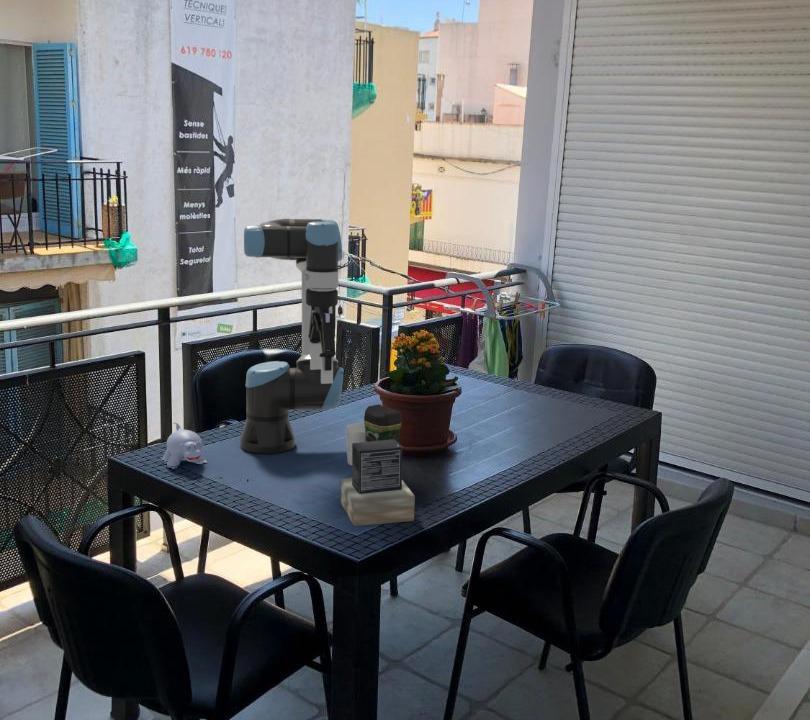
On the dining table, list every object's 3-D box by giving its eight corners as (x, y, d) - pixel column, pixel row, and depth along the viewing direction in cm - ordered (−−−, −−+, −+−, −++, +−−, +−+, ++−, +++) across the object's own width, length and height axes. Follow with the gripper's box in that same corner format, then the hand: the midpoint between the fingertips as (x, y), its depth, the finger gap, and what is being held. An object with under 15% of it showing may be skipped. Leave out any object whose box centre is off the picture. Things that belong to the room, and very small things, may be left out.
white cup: (378, 459, 251) (379, 424, 249) (369, 469, 244) (370, 433, 241) (350, 456, 253) (351, 421, 251) (341, 465, 246) (341, 429, 243)
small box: (393, 480, 220) (394, 437, 218) (402, 489, 214) (404, 446, 212) (350, 484, 217) (351, 441, 214) (358, 494, 211) (359, 450, 208)
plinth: (340, 502, 221) (341, 478, 220) (397, 497, 225) (397, 474, 224) (354, 526, 208) (354, 500, 207) (413, 520, 212) (414, 496, 211)
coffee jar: (405, 478, 238) (407, 409, 234) (381, 485, 233) (382, 414, 229) (381, 468, 245) (383, 400, 241) (357, 474, 240) (359, 405, 236)
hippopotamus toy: (174, 476, 235) (173, 441, 232) (157, 458, 247) (156, 424, 245) (215, 470, 240) (214, 435, 238) (196, 452, 253) (195, 419, 250)
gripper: (297, 280, 229) (296, 364, 234) (316, 297, 205) (315, 390, 210) (326, 280, 231) (326, 363, 236) (349, 297, 207) (348, 388, 212)
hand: (321, 376), depth 223 cm, fingers open, 13 cm apart
